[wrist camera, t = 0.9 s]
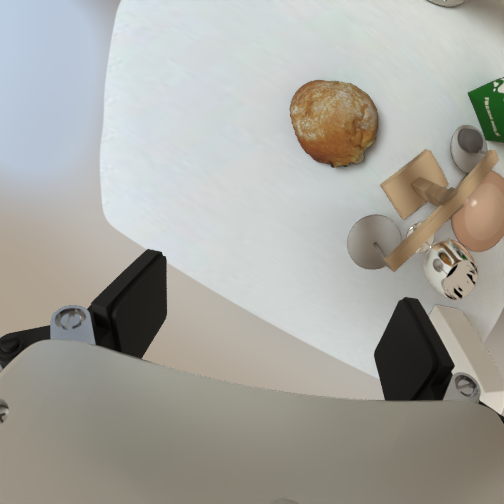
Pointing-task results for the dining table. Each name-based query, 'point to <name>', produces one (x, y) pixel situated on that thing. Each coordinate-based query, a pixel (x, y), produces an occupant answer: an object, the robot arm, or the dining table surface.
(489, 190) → the dish
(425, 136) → the dining table surface
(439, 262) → the wineglass
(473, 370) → the milk
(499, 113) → the milk carton
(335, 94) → the bread roll
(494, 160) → the balance
